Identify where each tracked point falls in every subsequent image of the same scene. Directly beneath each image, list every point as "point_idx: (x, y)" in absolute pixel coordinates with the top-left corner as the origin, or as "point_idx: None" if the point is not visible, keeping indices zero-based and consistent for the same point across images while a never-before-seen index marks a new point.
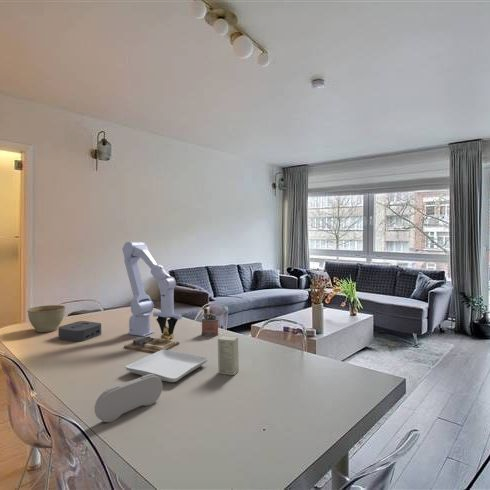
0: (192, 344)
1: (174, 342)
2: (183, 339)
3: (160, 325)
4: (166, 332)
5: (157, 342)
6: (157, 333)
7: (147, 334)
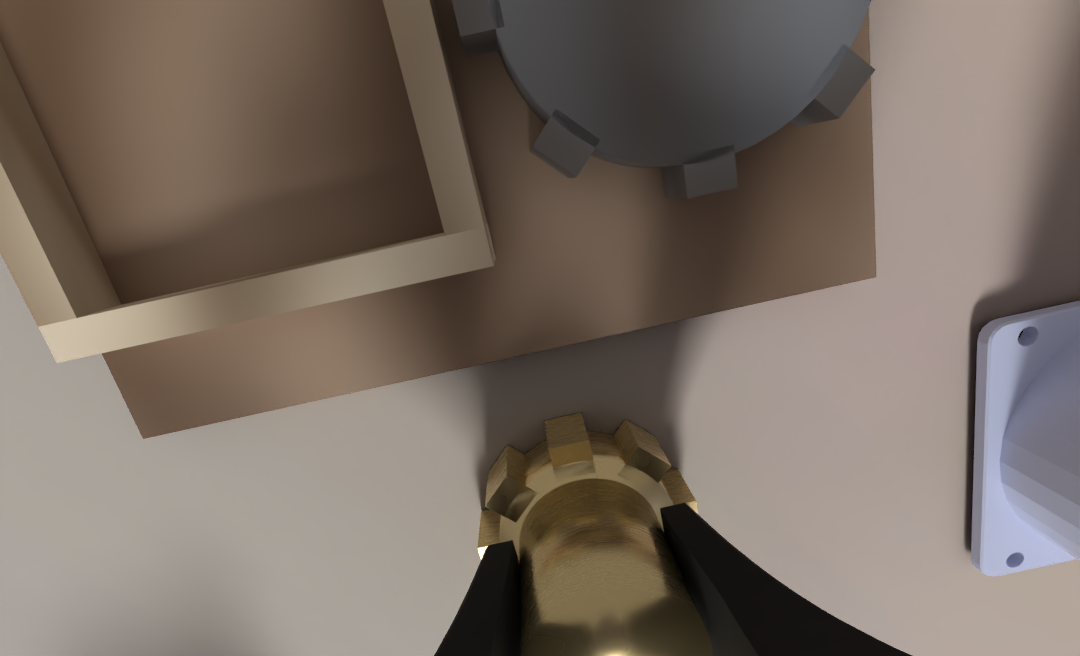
0: (3, 530)
1: (42, 305)
2: (327, 601)
3: (762, 606)
4: (553, 535)
5: (428, 179)
6: (886, 558)
7: (977, 417)
